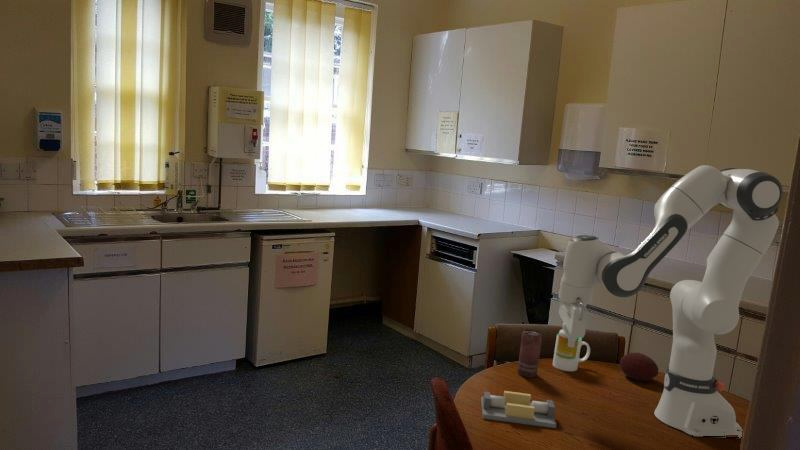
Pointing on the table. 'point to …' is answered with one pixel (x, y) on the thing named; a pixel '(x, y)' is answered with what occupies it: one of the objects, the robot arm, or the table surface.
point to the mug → (570, 364)
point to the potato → (638, 366)
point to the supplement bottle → (565, 346)
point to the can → (529, 353)
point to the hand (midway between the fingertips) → (568, 342)
